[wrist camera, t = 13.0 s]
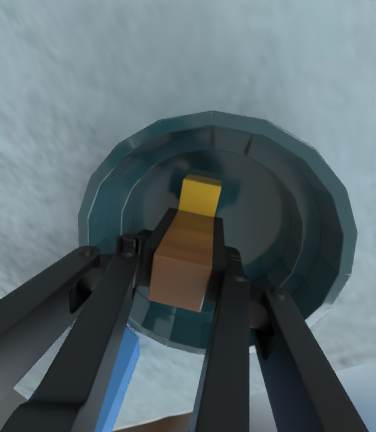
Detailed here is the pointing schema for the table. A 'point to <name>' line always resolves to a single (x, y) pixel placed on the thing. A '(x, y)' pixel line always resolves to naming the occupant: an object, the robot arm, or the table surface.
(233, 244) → the wash bowl
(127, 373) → the water bottle
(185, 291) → the yellow-tipped brown block
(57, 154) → the table surface
